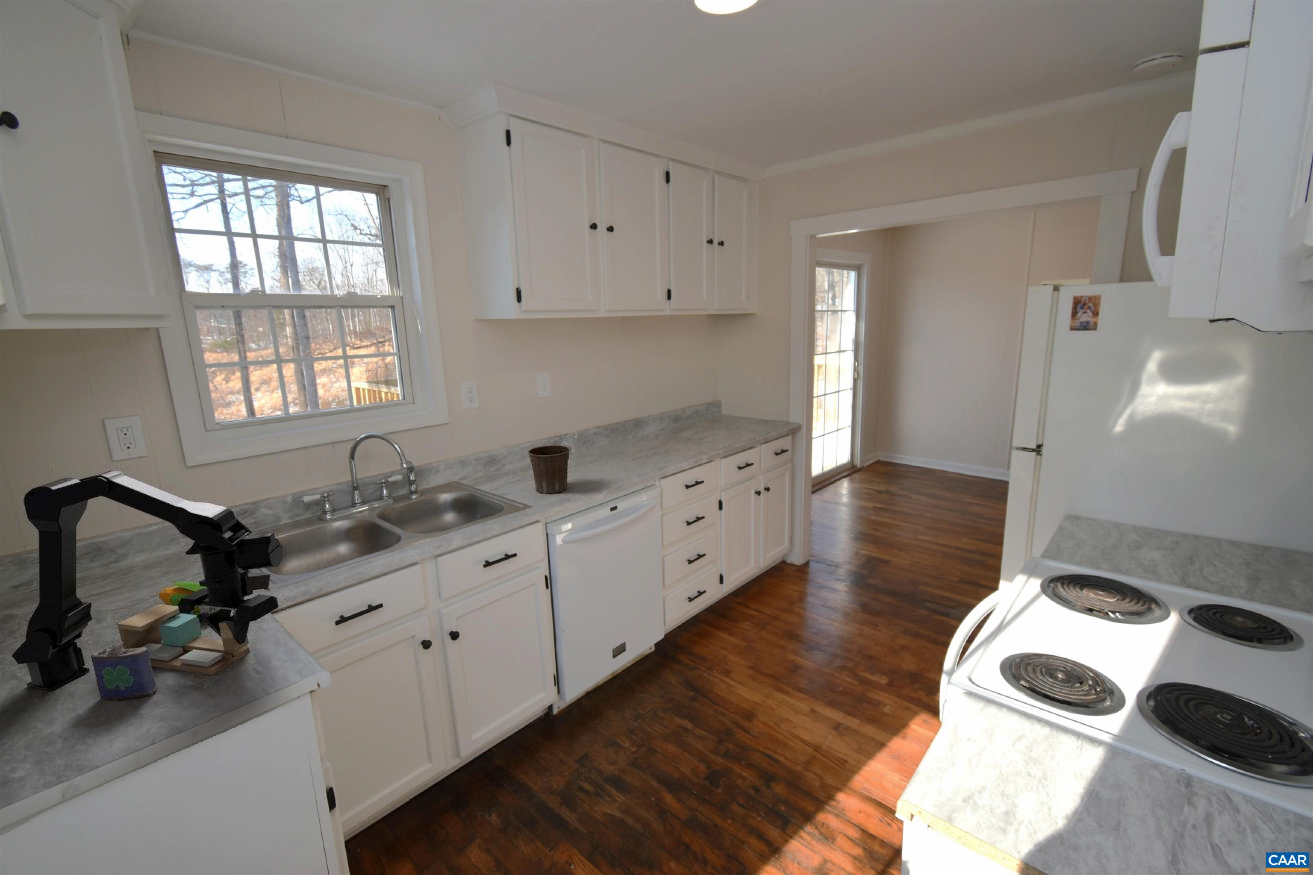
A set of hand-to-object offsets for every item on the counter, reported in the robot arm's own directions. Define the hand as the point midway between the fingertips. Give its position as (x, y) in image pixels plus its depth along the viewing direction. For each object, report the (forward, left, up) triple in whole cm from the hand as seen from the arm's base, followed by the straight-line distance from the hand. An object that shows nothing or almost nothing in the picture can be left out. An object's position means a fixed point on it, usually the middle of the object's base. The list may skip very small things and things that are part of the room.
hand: (235, 642), depth 116 cm
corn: (+12, +29, -4) cm, 32 cm away
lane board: (-2, +10, -3) cm, 11 cm away
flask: (-14, +9, -4) cm, 17 cm away
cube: (0, +14, -1) cm, 14 cm away
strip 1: (-4, +10, -2) cm, 11 cm away
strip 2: (0, +8, -2) cm, 9 cm away
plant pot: (+118, -18, -4) cm, 119 cm away
